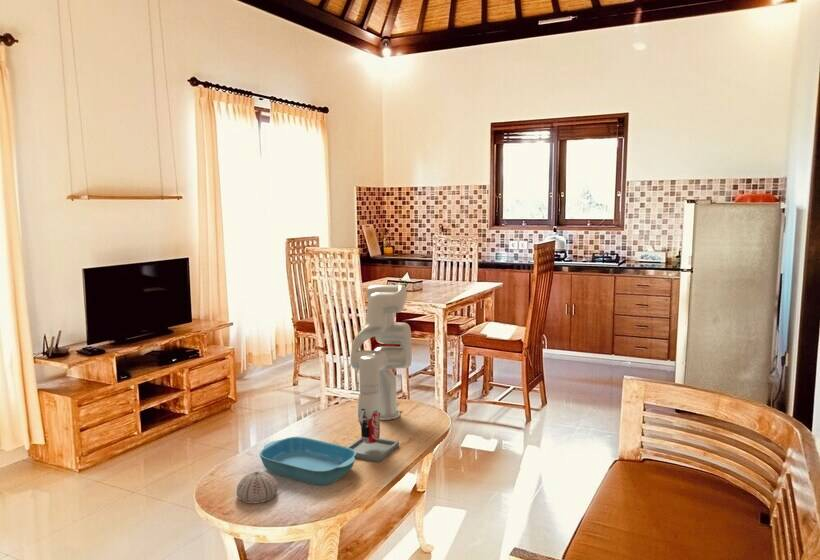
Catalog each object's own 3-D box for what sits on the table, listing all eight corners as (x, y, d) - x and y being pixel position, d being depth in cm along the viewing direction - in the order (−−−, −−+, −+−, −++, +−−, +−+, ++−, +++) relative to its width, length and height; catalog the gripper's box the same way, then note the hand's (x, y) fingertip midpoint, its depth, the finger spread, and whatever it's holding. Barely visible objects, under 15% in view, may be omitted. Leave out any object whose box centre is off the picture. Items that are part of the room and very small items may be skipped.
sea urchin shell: (270, 507, 186) (269, 483, 185) (228, 505, 188) (227, 481, 187) (284, 488, 199) (283, 465, 198) (245, 486, 201) (244, 463, 200)
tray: (363, 440, 239) (363, 435, 239) (399, 446, 233) (398, 441, 232) (342, 455, 225) (342, 450, 225) (379, 462, 218) (379, 457, 218)
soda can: (381, 437, 231) (380, 407, 230) (378, 444, 224) (377, 414, 223) (363, 437, 232) (362, 407, 231) (359, 444, 225) (359, 413, 224)
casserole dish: (369, 468, 213) (368, 449, 213) (331, 495, 194) (331, 474, 193) (289, 450, 231) (288, 432, 230) (247, 472, 212) (246, 453, 211)
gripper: (372, 380, 235) (373, 424, 237) (349, 393, 220) (350, 439, 222) (388, 383, 232) (389, 427, 234) (366, 395, 217) (368, 442, 219)
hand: (370, 432), depth 228 cm, fingers closed on soda can, 6 cm apart
